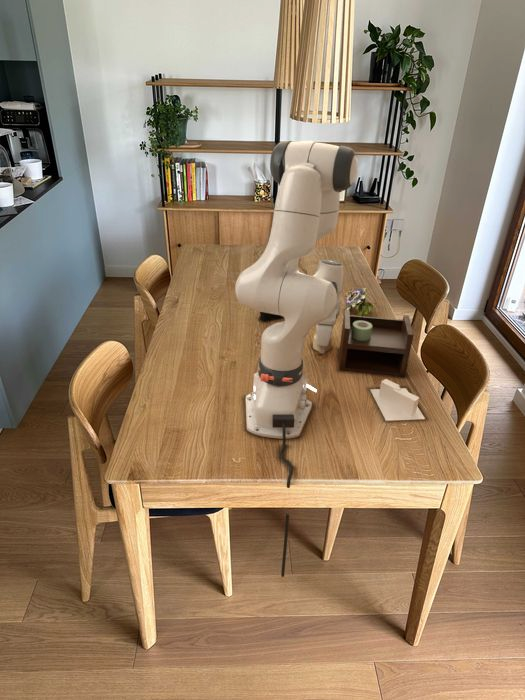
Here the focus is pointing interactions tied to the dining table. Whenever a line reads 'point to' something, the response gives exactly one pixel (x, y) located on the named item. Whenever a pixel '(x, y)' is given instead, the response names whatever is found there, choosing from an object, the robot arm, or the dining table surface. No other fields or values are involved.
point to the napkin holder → (396, 402)
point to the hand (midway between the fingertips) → (322, 345)
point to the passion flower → (358, 301)
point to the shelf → (376, 346)
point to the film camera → (269, 316)
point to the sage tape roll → (361, 330)
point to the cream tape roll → (318, 346)
